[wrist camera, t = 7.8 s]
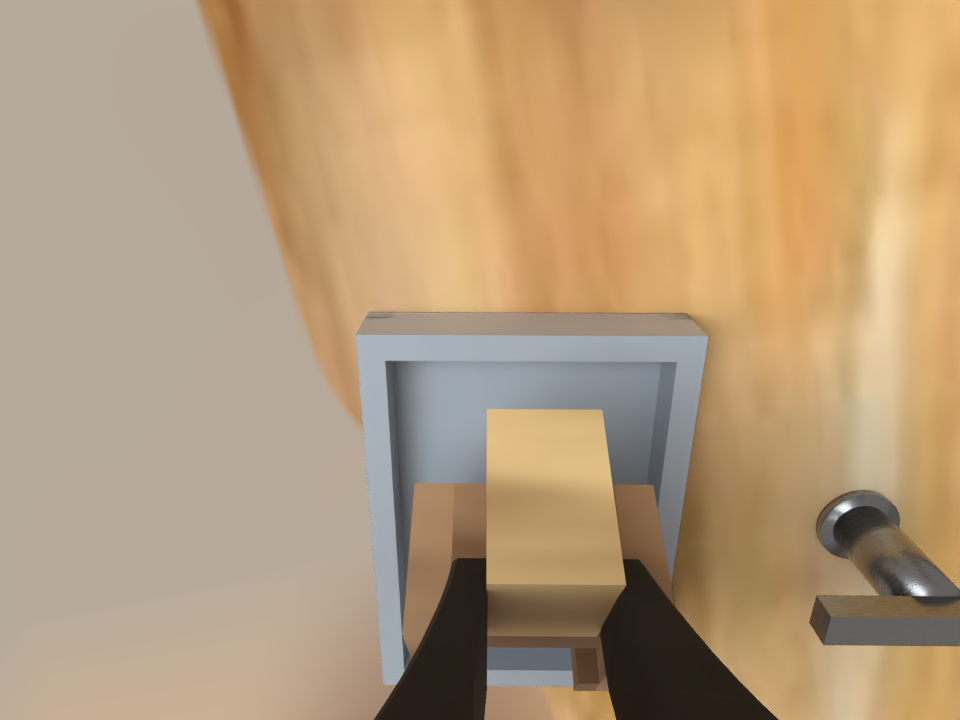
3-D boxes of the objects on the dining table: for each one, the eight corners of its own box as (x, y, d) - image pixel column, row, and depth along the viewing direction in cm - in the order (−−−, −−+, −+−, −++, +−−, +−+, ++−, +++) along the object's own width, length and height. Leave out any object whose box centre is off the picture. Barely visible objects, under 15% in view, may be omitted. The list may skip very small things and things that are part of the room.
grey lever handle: (883, 553, 22) (986, 668, 17) (749, 552, 22) (817, 666, 17) (903, 491, 21) (1016, 595, 16) (762, 489, 21) (837, 593, 16)
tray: (642, 641, 23) (655, 687, 21) (391, 639, 23) (383, 684, 22) (686, 313, 18) (708, 336, 17) (369, 312, 18) (355, 334, 17)
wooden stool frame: (613, 568, 20) (628, 690, 18) (430, 566, 20) (423, 689, 18) (688, 410, 13) (730, 585, 11) (400, 408, 13) (382, 583, 11)
